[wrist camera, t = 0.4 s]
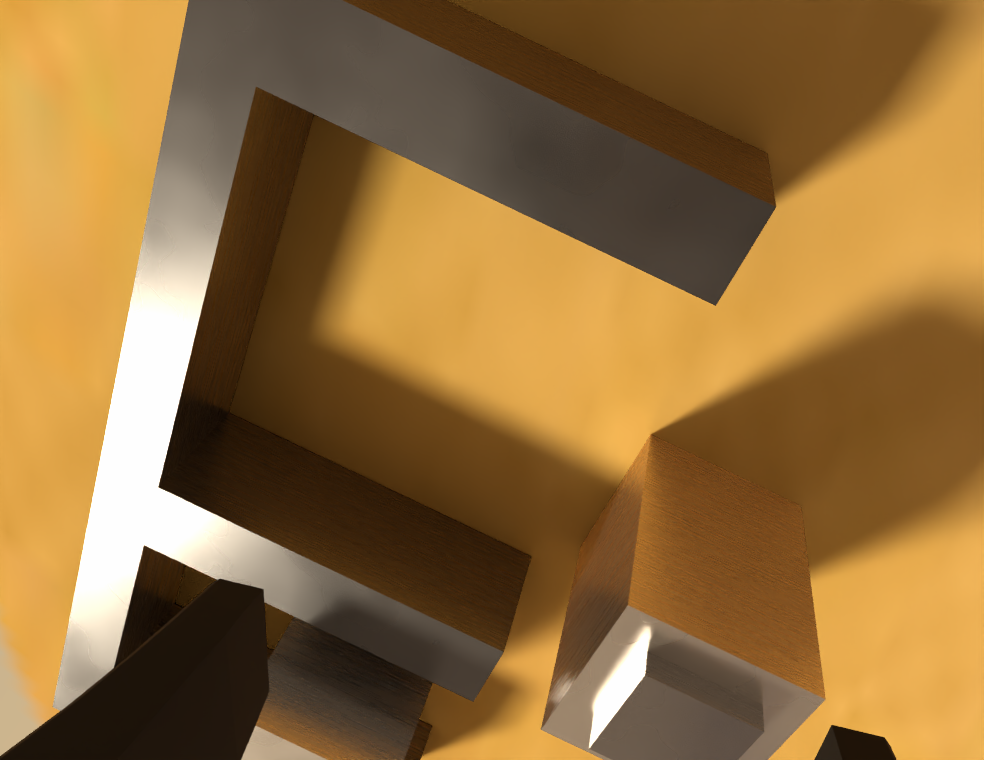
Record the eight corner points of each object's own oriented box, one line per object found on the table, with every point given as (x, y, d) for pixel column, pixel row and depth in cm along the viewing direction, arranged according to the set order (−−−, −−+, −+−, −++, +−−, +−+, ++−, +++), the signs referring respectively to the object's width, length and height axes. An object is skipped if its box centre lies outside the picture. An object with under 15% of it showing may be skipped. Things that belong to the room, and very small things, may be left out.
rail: (411, 761, 29) (375, 860, 26) (121, 623, 29) (52, 706, 26) (767, 153, 18) (776, 207, 15) (290, -75, 18) (202, -67, 15)
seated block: (414, 692, 28) (343, 875, 23) (297, 636, 28) (200, 807, 23) (459, 610, 26) (392, 791, 20) (333, 550, 26) (235, 715, 20)
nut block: (717, 611, 23) (716, 839, 18) (580, 546, 23) (535, 753, 18) (800, 505, 21) (828, 725, 16) (650, 434, 21) (624, 628, 16)
